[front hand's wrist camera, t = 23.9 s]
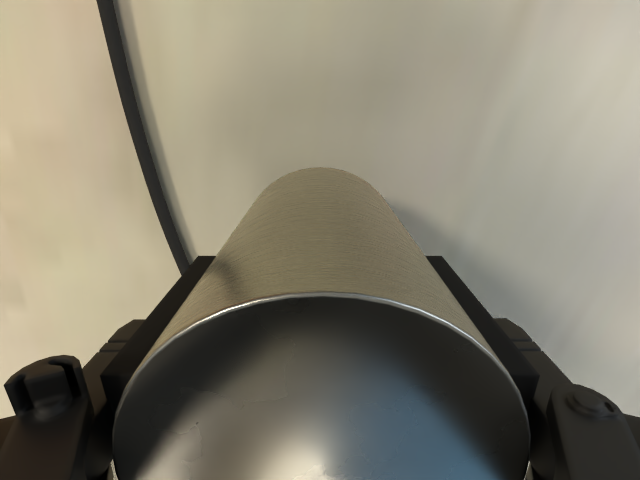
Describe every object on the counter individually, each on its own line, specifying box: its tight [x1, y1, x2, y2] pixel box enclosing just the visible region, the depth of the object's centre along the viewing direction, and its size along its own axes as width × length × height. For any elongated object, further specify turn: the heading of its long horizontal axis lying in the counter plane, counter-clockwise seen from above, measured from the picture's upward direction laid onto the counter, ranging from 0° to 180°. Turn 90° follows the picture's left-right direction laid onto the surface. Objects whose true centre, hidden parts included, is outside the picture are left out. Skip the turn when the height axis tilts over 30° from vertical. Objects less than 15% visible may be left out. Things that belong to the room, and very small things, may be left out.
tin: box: [112, 167, 531, 480], centre depth 12 cm, size 8×8×12 cm
